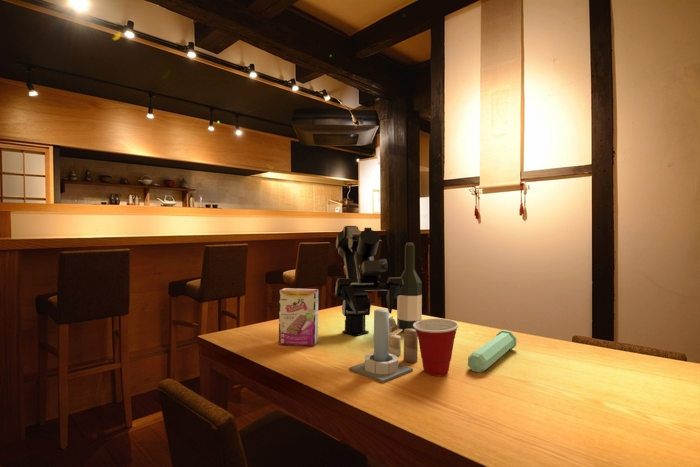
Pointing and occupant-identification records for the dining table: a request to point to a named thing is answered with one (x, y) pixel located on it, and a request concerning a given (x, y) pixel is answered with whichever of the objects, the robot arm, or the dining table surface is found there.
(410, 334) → the medium dowel
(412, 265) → the wine bottle
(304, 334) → the candy bar box
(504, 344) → the container
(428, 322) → the plastic cup
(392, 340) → the short dowel
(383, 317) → the long dowel
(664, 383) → the dining table surface
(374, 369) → the socket
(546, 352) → the dining table surface
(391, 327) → the architectural model
